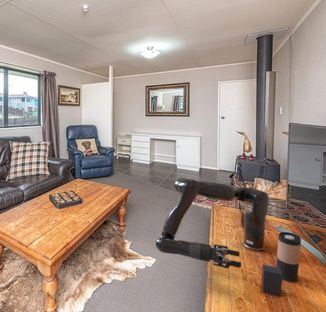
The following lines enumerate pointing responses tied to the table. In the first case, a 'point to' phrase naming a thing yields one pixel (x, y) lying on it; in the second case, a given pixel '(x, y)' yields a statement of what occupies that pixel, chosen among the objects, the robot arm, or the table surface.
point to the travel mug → (288, 255)
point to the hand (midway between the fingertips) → (240, 259)
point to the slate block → (271, 280)
